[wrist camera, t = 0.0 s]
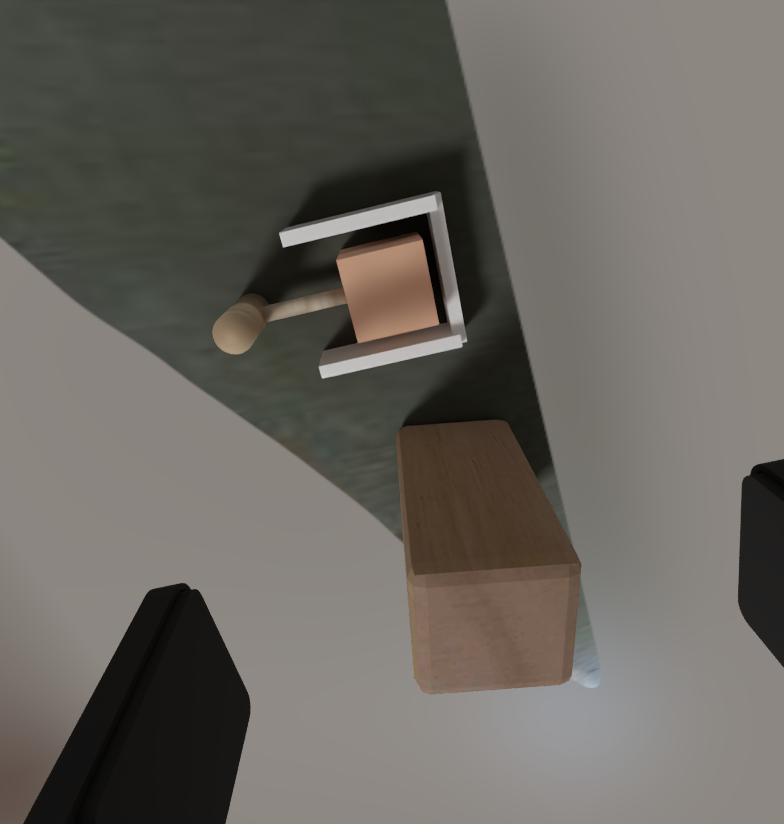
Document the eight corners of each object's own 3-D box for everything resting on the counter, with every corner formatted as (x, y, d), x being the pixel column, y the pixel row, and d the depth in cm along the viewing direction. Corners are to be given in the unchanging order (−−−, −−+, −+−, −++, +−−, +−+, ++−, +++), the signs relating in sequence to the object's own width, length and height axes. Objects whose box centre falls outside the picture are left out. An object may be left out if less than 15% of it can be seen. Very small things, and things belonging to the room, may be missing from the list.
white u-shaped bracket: (287, 227, 42) (278, 232, 38) (436, 190, 41) (442, 193, 38) (326, 361, 46) (322, 378, 43) (461, 331, 46) (469, 345, 42)
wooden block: (508, 414, 49) (588, 561, 30) (506, 509, 53) (576, 691, 34) (394, 422, 49) (407, 575, 30) (401, 517, 53) (416, 702, 34)
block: (223, 277, 43) (198, 296, 37) (416, 231, 42) (424, 242, 36) (248, 349, 46) (228, 379, 39) (431, 307, 45) (441, 330, 38)
